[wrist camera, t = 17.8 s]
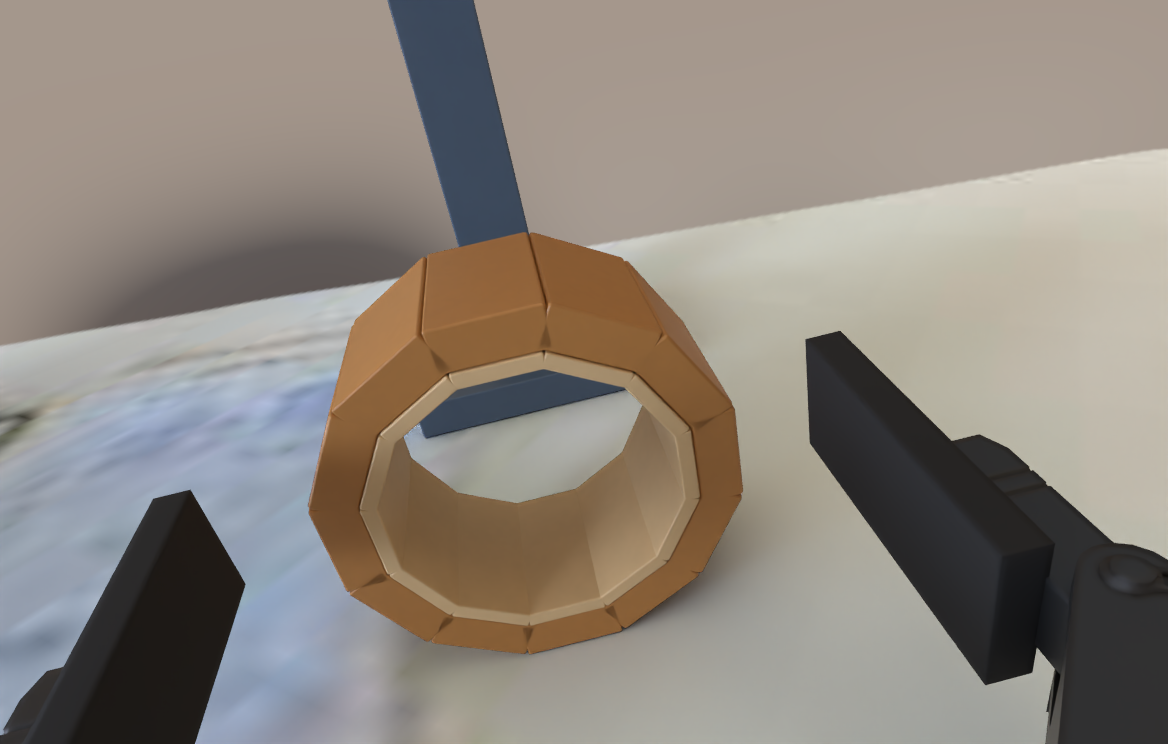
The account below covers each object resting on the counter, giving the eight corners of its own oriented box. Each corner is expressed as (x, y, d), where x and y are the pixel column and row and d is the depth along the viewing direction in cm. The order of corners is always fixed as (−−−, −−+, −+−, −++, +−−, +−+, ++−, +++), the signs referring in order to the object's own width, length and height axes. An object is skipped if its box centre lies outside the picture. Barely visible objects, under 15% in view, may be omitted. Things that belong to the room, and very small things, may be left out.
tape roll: (394, 690, 20) (238, 376, 15) (403, 568, 24) (282, 286, 19) (755, 599, 21) (721, 261, 16) (706, 493, 25) (667, 197, 20)
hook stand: (604, 297, 39) (505, -214, 28) (666, 441, 27) (542, -320, 17) (430, 338, 38) (263, -162, 28) (421, 501, 27) (135, -236, 16)
